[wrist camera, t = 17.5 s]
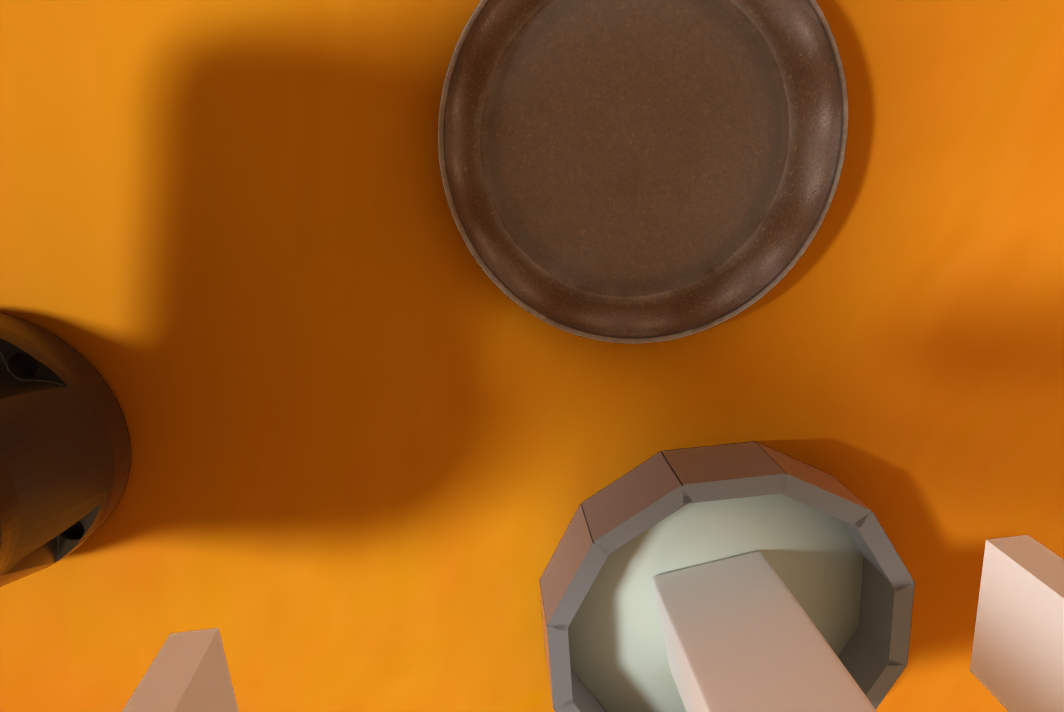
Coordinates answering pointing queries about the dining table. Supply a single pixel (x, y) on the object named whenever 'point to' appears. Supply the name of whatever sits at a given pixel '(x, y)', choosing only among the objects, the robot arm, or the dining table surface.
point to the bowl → (706, 536)
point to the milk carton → (748, 643)
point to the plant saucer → (641, 155)
